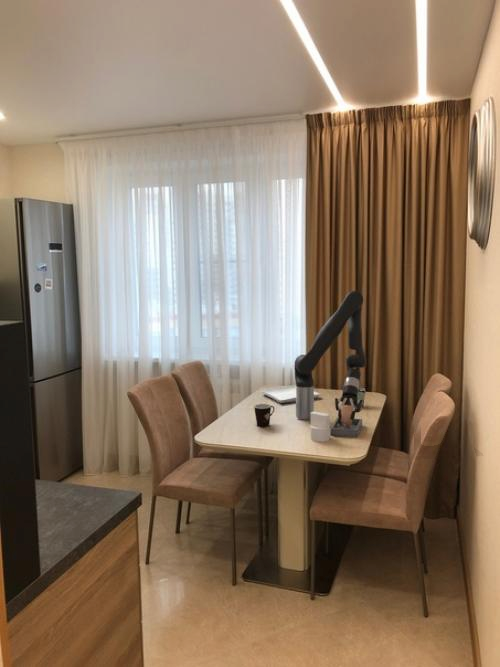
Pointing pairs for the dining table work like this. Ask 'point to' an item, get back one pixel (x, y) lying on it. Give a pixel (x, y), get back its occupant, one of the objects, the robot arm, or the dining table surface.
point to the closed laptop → (284, 393)
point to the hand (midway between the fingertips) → (345, 418)
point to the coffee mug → (263, 414)
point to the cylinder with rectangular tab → (319, 427)
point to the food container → (360, 396)
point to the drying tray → (344, 431)
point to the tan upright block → (346, 415)
